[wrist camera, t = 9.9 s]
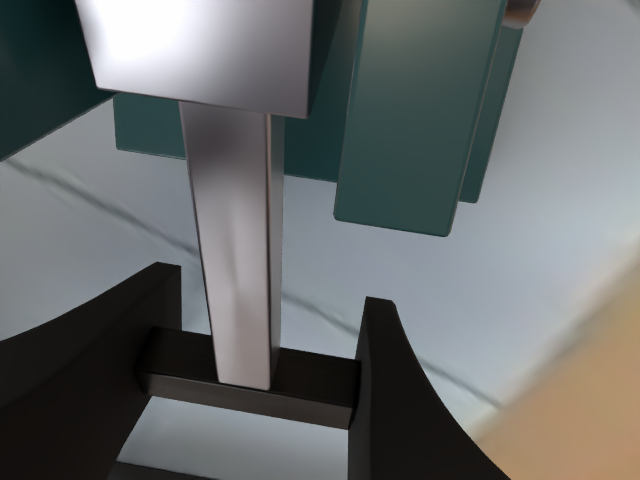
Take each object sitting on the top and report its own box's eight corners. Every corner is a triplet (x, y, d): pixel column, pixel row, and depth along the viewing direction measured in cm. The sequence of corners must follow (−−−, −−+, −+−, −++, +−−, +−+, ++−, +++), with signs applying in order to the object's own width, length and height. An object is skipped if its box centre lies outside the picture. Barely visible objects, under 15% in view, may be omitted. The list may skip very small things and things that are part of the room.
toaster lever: (359, 359, 13) (346, 462, 12) (168, 327, 14) (130, 424, 12) (497, -277, 5) (515, -227, 4) (14, -325, 5) (-173, -302, 4)
